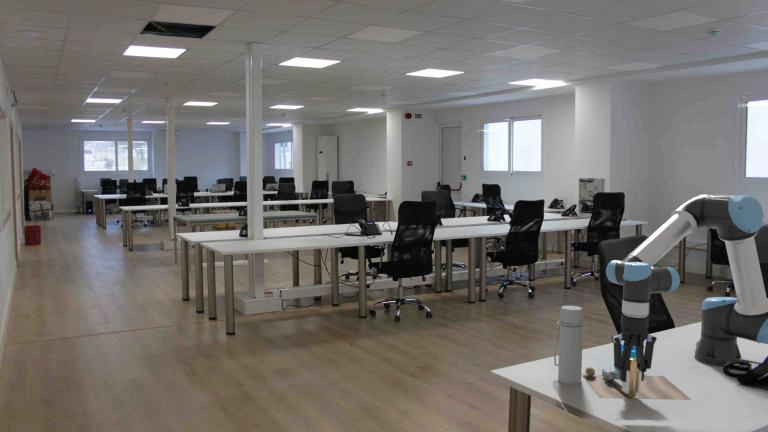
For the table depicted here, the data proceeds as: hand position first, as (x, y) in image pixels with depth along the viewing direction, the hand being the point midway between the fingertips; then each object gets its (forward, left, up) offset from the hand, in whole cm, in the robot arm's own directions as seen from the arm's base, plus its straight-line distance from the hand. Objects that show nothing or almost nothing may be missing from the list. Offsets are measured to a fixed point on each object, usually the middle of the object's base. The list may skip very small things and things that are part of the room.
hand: (631, 391), depth 192 cm
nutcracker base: (-4, -10, -3) cm, 11 cm away
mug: (-9, -30, -3) cm, 31 cm away
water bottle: (+16, -15, -3) cm, 22 cm away
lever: (+1, -8, -1) cm, 8 cm away
